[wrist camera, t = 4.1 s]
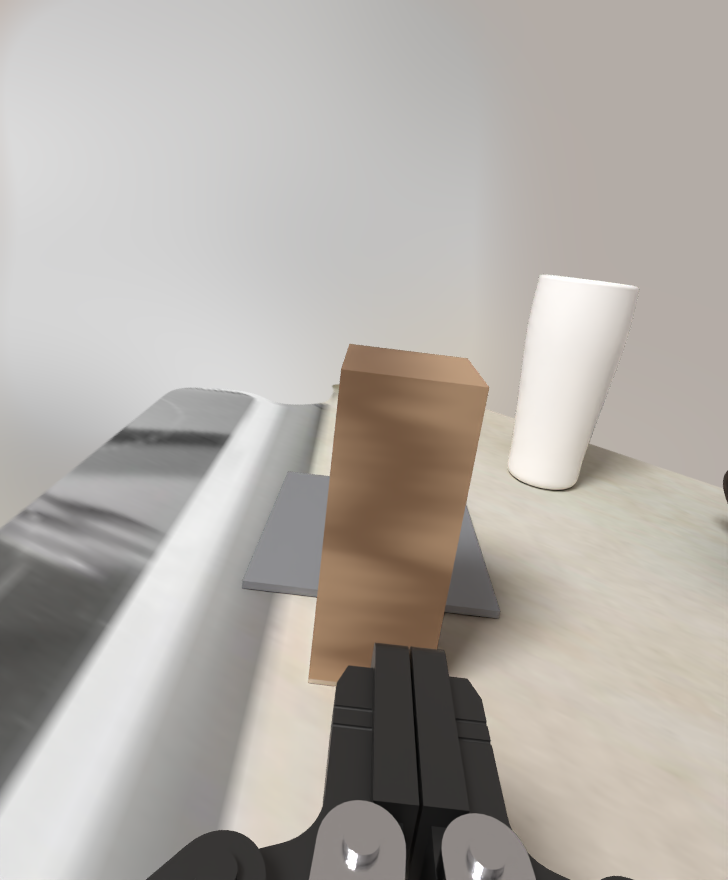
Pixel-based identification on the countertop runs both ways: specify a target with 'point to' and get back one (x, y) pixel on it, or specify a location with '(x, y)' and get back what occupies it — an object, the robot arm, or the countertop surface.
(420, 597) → the plain brown block
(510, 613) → the countertop surface
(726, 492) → the brown jagged ring
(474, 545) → the mat
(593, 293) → the drinking glass
